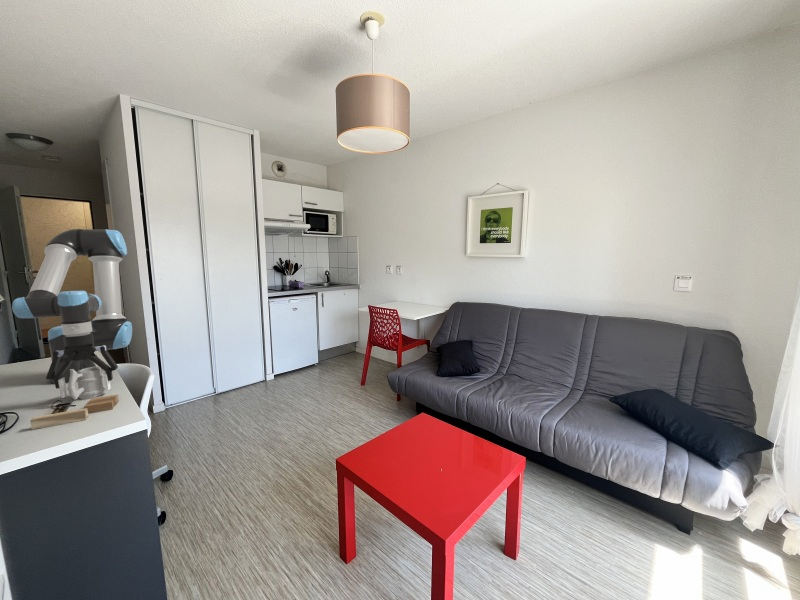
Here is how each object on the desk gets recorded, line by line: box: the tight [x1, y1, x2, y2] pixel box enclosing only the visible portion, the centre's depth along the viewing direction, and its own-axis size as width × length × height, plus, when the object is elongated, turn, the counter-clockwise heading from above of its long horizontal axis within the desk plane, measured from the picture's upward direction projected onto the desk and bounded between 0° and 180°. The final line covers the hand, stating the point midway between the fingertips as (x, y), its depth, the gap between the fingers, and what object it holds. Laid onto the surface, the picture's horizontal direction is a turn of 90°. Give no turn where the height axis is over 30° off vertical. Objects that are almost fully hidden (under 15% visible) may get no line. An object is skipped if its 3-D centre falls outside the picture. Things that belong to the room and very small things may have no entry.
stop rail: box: [29, 407, 89, 430], centre depth 99 cm, size 2×12×3 cm, turn 118°
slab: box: [83, 394, 119, 415], centre depth 110 cm, size 7×7×3 cm
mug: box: [66, 366, 106, 400], centre depth 118 cm, size 8×12×12 cm, turn 0°
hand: (86, 392), depth 119 cm, fingers open, 11 cm apart
